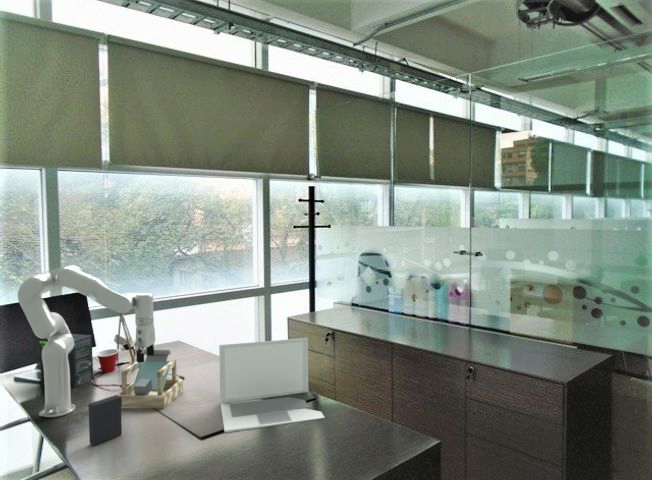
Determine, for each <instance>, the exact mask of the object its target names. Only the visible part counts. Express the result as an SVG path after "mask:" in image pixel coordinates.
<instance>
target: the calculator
mask: <svg viewBox="0 0 652 480" xmlns="http://www.w3.org/2000/svg"><path fill="white" fill-rule="evenodd" d="M87 407H88V431H89V432H88V433H89V435H88V436H89V438H88V439H89V444H91V445H92V446H97V445H99V444H101V443H104V442H106V441H109V440H111V439H114V438H117V437H120V436H122V434H123V431H122V430H123V429H122V408H121V407H122V398H121V397H120V396H117V395H116V394H115V395H112V396H109V397H105V398H103V399H99V400H96V401H94V402H90V403H89V404H88V406H87Z"/></svg>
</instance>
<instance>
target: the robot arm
mask: <svg viewBox="0 0 652 480" xmlns="http://www.w3.org/2000/svg"><path fill="white" fill-rule="evenodd" d="M64 287H65V288H66V289H69V290H72V291H74V292H76V293H78V294H81V295H83V296H85V297H88V298H90V299H91V300H92V301H94V302H96V303H97V304H99V305H100V306H103V307H104V308H107V309H108V310H109V309H110V310H111V311H113V312H116V313H119V314H125V313H128V312H130V310H132V309H134V311H135V313H134V314H135V315H134V316H135V317H134V318H135V326H136V328H135V344H134V349H135V355H136V362H144V361H145V355H144V349H147V355H146V357H147V356H153V355H154V349H155V343H156V332H155V331H156V330H155V324H154V296H153V293H151V292H138V293H137V292H135V293H134V292H124V293H119V292H117V291H114V290H111V289H110V288H109V287H107V286H106V285H105V284H104V282H103V281H102V280H101V279H99V278H97V277H94V276H92V275H91V274H88V273H85V272H83V270H82V268H81V267H79V266H78V265H74V264H70V265H69V264H68V265H67V266H63V267H59V268H56V269H52V270H47V271H43V272H40V273H38V274H37V273H36V274H33V275H32V276H29V277H28V278H26V279H25V280H24V281H23V282H22V283H21V285H20V286H19V287H18V290H17V301H18V303H19V305H20V307H21V309H22V311H23V313H24V316H26V320H27V321H28V324H29V325H30V327H31V329H32V332H33V334H34V335H35V336H36V337H37V338H42V339H45V338H47V339H48V342H47V343H46V344H45V346H44V347H43V350H42V361H43V366H44V383H45V384H44V400H45V401H44V408H43V409H42V410H40V411H39V412H38V416H40V417H43V418H44V417H45V418H56V417H58V418H59V417H61V416H65V415H68V414H71V413H72V412H73V411H75V410H76V405H75V404H74V403H72V401H71V400H72V399H71V393H72V392H71V388H70V368H69V361H68V354H69V353H70V352H71V351H72V349H73V348H74V339H73V337H72V335H71V334H72V333H71V330H70V329H69V326H68V324H67V322H66V320H65V319H64V318H63V316H62V315H60V313H58V312H54V311H53V312H52V311H50V309H49V307H48V305H47V303H46V301H45V300H44V299H43V297H42V295H43V294H46V293H48V292H50V291H53V290H57V289H61V288H64Z"/></svg>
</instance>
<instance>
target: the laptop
mask: <svg viewBox="0 0 652 480" xmlns="http://www.w3.org/2000/svg"><path fill="white" fill-rule="evenodd" d="M218 347H219V348H218V352H219V394H220V395H219V397H220V398H219V401H220V409H221V417H223V418H222V423H223V431H224V433H225V434H227V433H232V432H237V431H238V432H239V431H247V430H254V429H255V430H257V429H262V428H267V427H268V428H269V427H274V426H283V425H286V424H294V423H301V422H306V421H307V422H308V421H313V420H320V419H325V418H326V417H325V416H324V414H323V412H322V411H319V410H315V409H309V408H310V405H308V403H307V401H306V400H305V399H302V398H301V399H300V398H295V397H290V396H287V395H294V394H295V395H296V394H302V393H309V338H308V337H300V338H291V339H289V338H288V339H280V340H279V339H278V340H265V341H252V342H240V343H227V344H219V345H218ZM285 395H286V396H287V397H281V396H285ZM273 397H277V398H273ZM266 398H270V399H266Z"/></svg>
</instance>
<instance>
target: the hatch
mask: <svg viewBox="0 0 652 480" xmlns="http://www.w3.org/2000/svg"><path fill="white" fill-rule="evenodd" d="M143 353H144V356H145V355H146V357H145V359H144V362H141V364H140V367H139V368H138V369H137V370H138V371H137V374H136V377H135V378H134V379H135V380H134V381H135V382H134V381H133V382H134V385H133V388H132V390H134V386H135V384H136V383H137V382H138V381H139V380H140V379H151V382H152V390H151V391H158V389H157V372H158V371H159V370H160V369H161V368H163V367H164V366H165V365H167V364H168V363H169V362H171V361H172V360H170V361H169V360H168V357H169V356H170V355H171V353H172V349H171V348H154V355H153V356H147V348H144V351H143ZM169 371H170V370H169ZM169 371H168V372H167V373H166V374H164V375H163V376H162V391H163V389H164V385H165V382H166V379H168V375H169Z"/></svg>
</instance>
